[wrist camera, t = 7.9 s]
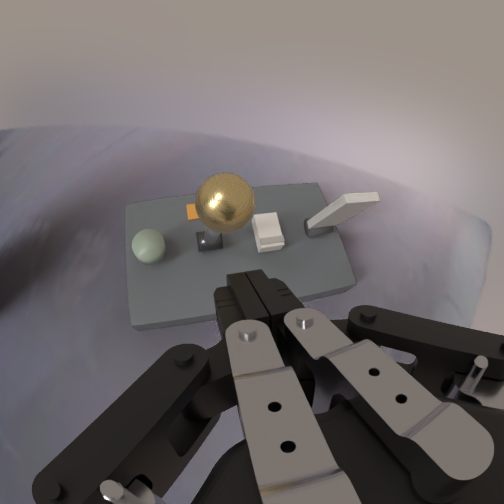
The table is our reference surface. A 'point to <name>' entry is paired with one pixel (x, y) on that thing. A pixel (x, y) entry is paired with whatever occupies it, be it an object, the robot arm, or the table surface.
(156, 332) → the table surface
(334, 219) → the pale grey paddle
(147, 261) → the push button
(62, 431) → the table surface
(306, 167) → the table surface
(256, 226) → the white rocker switch
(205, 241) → the brass lever
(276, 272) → the control panel
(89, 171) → the table surface
